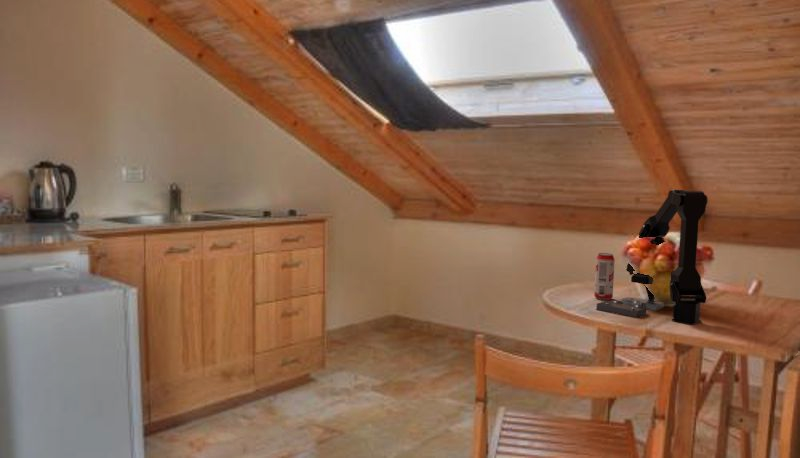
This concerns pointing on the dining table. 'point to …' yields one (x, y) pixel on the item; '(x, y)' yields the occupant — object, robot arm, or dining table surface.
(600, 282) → the beer can
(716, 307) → the dining table surface
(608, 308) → the fixed leaf
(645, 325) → the dining table surface
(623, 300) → the free leaf
